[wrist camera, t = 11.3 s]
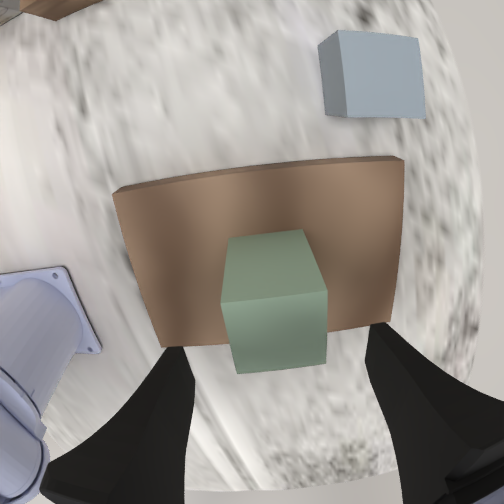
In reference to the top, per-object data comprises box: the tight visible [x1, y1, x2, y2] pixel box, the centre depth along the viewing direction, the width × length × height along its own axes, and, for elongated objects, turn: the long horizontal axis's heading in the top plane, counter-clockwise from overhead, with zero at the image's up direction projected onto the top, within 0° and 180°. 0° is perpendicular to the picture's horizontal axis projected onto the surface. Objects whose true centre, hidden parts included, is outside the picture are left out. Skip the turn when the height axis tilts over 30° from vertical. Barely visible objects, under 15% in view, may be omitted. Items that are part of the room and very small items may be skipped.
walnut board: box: [112, 156, 404, 348], centre depth 18 cm, size 16×11×2 cm
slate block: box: [318, 30, 426, 119], centre depth 13 cm, size 4×4×4 cm
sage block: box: [220, 229, 328, 374], centre depth 15 cm, size 4×4×6 cm
